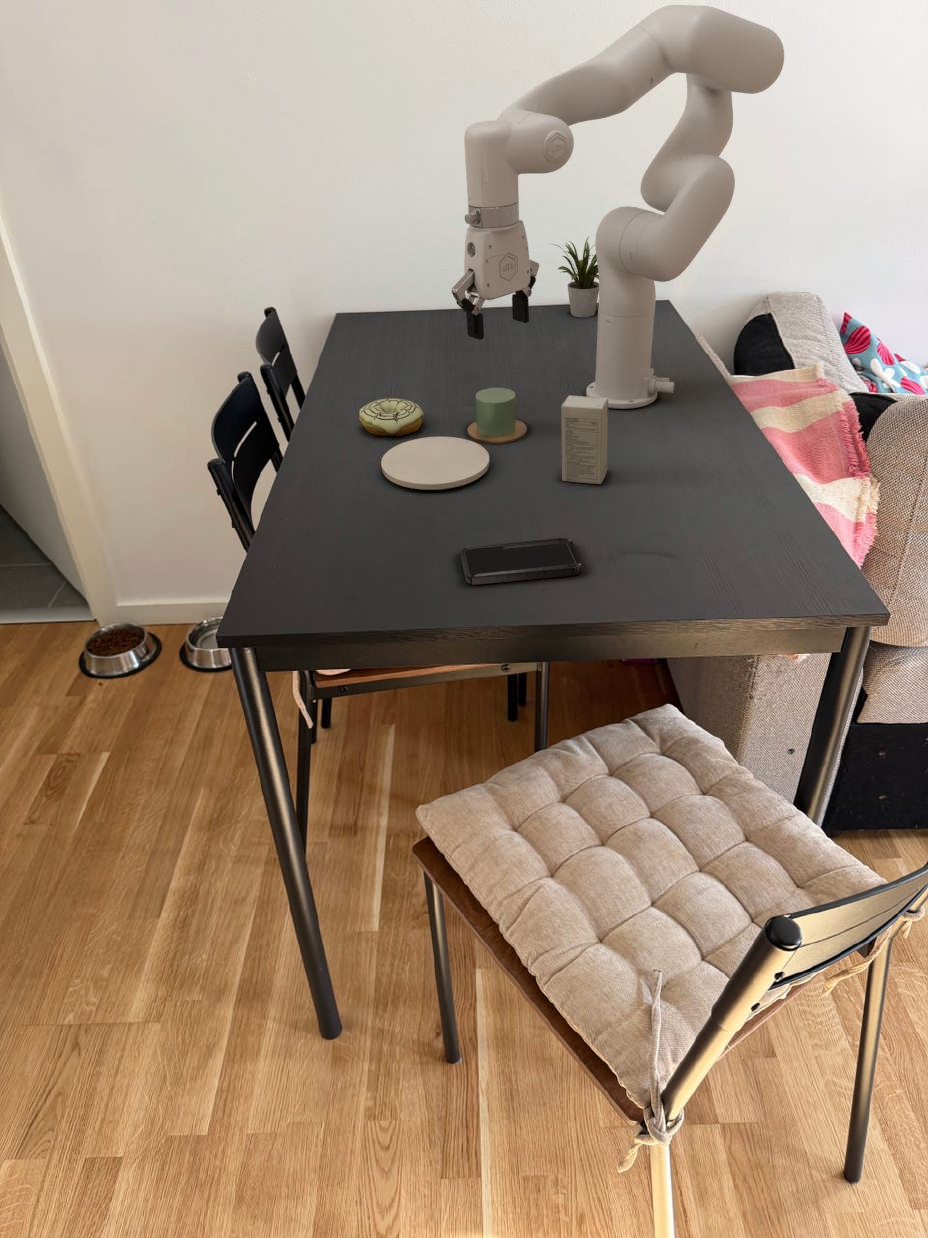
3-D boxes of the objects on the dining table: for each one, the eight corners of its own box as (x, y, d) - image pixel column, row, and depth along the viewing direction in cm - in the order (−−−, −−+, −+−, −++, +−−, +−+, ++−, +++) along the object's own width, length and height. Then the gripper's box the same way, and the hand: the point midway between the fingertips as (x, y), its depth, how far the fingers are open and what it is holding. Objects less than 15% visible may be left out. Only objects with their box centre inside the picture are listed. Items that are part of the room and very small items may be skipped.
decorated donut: (397, 445, 157) (395, 423, 155) (348, 431, 162) (346, 410, 160) (435, 422, 164) (433, 401, 162) (386, 410, 169) (384, 390, 167)
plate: (503, 451, 153) (503, 442, 152) (469, 499, 140) (468, 489, 139) (406, 440, 158) (405, 431, 157) (364, 485, 145) (363, 476, 144)
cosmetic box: (607, 473, 145) (611, 397, 138) (601, 485, 142) (604, 408, 135) (566, 468, 147) (568, 393, 140) (559, 480, 144) (560, 404, 137)
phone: (582, 567, 121) (466, 577, 120) (582, 574, 122) (466, 585, 121) (570, 536, 128) (459, 546, 127) (570, 543, 128) (460, 553, 127)
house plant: (541, 323, 205) (542, 244, 196) (547, 304, 216) (548, 228, 207) (608, 324, 203) (612, 245, 193) (610, 304, 214) (614, 228, 205)
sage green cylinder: (520, 423, 161) (520, 389, 158) (509, 438, 156) (508, 404, 153) (483, 419, 163) (482, 385, 160) (471, 434, 158) (470, 400, 155)
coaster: (533, 422, 162) (533, 420, 162) (516, 446, 155) (517, 444, 154) (478, 416, 165) (478, 414, 165) (459, 439, 158) (459, 437, 157)
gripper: (466, 231, 134) (473, 349, 144) (553, 206, 143) (553, 319, 153) (433, 223, 139) (442, 338, 149) (518, 200, 147) (521, 310, 157)
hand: (498, 329), depth 151 cm, fingers open, 9 cm apart
